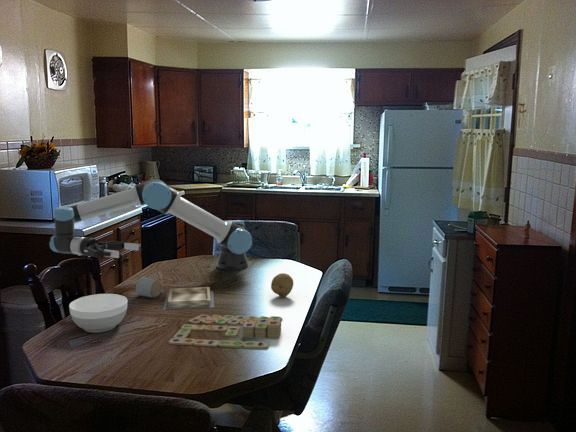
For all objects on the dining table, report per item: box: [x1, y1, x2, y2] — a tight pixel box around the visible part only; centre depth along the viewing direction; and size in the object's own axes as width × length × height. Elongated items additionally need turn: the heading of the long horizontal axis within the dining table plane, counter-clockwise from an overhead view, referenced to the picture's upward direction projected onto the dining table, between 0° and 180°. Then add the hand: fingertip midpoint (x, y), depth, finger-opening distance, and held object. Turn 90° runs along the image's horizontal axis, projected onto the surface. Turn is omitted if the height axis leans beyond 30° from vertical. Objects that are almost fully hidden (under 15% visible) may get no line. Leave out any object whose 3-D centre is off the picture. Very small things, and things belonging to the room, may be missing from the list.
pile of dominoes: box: [168, 314, 283, 350], centre depth 178 cm, size 35×27×6 cm
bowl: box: [68, 293, 128, 333], centre depth 180 cm, size 19×19×9 cm
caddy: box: [168, 286, 211, 308], centre depth 208 cm, size 16×16×2 cm
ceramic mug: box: [135, 276, 164, 299], centre depth 213 cm, size 11×8×8 cm
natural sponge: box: [270, 272, 294, 298], centre depth 212 cm, size 9×9×10 cm
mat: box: [163, 290, 215, 311], centre depth 208 cm, size 19×20×1 cm
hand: (128, 250), depth 213 cm, fingers open, 13 cm apart
